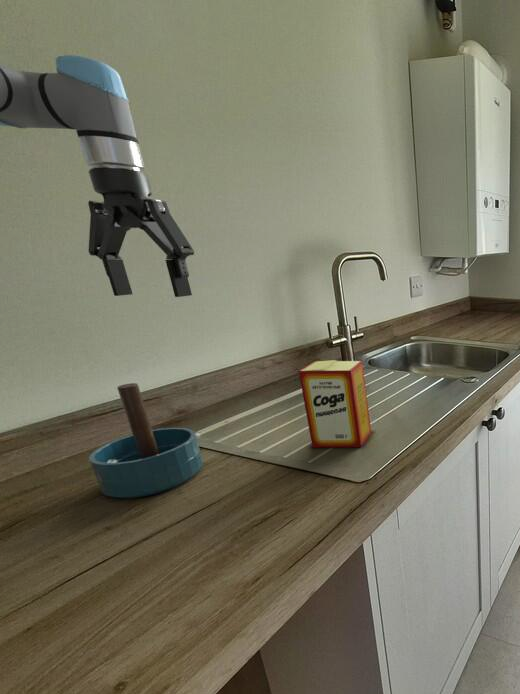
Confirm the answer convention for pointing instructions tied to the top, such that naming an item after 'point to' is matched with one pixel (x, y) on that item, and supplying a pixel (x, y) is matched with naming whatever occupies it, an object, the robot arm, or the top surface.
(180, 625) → the top surface
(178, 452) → the bowl
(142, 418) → the stirring stick
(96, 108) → the robot arm
